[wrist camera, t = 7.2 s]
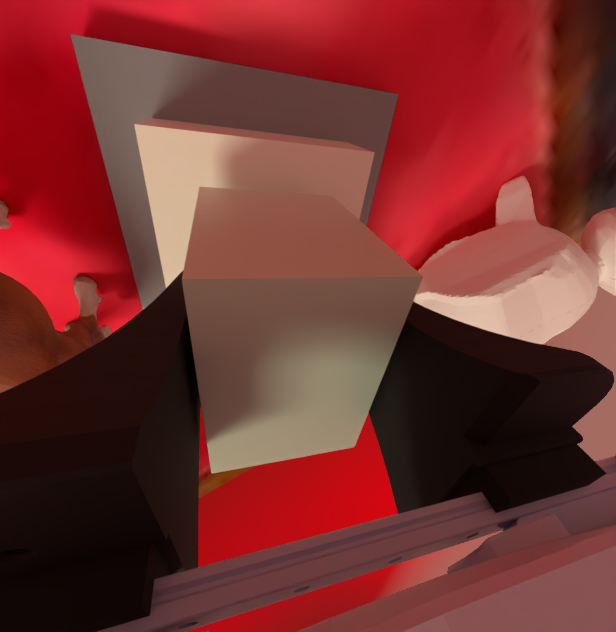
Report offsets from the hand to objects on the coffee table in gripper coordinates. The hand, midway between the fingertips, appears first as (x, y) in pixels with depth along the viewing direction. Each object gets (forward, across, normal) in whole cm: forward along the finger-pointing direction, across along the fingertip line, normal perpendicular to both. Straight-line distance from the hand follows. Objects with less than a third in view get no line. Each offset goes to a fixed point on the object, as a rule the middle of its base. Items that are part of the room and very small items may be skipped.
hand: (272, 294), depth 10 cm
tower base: (+7, 0, 0) cm, 7 cm away
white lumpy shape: (+7, -16, +1) cm, 18 cm away
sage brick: (+2, 0, 0) cm, 2 cm away
